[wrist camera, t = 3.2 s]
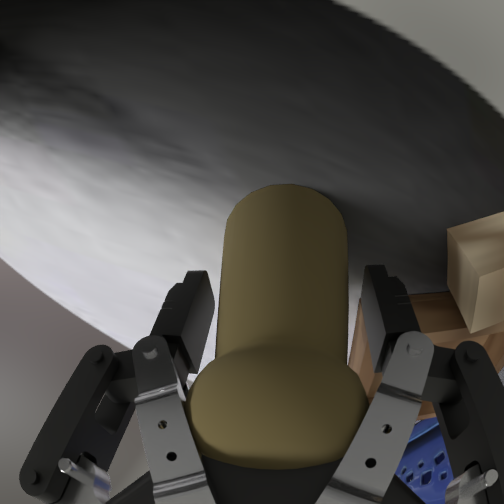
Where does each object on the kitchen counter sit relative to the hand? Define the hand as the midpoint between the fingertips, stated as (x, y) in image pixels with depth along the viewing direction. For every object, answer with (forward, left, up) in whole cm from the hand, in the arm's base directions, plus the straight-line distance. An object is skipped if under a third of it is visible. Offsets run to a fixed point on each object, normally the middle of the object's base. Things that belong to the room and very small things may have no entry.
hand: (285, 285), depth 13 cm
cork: (0, 0, -3) cm, 3 cm away
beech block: (+11, -1, -3) cm, 12 cm away
